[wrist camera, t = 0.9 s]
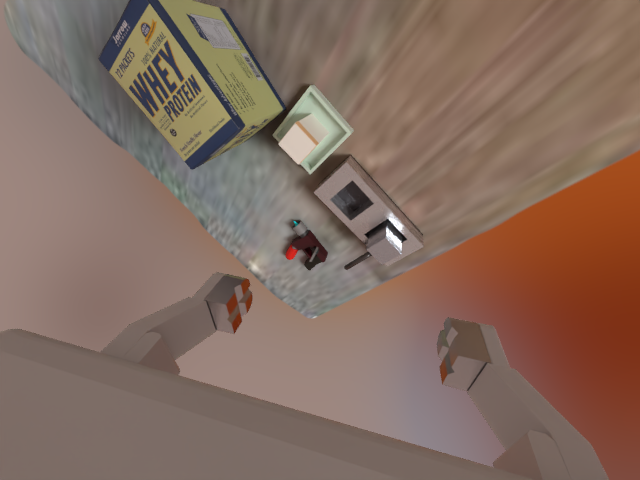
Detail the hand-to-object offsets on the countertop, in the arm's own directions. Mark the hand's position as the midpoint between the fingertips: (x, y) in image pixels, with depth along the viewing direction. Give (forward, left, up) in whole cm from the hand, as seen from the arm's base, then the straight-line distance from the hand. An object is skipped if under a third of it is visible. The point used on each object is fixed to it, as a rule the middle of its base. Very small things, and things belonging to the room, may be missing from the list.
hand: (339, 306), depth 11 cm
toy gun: (+29, +6, -37) cm, 48 cm away
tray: (+9, -8, -36) cm, 38 cm away
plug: (+9, -8, -36) cm, 38 cm away
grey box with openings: (+14, +9, -36) cm, 40 cm away
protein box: (+13, -22, -37) cm, 45 cm away
